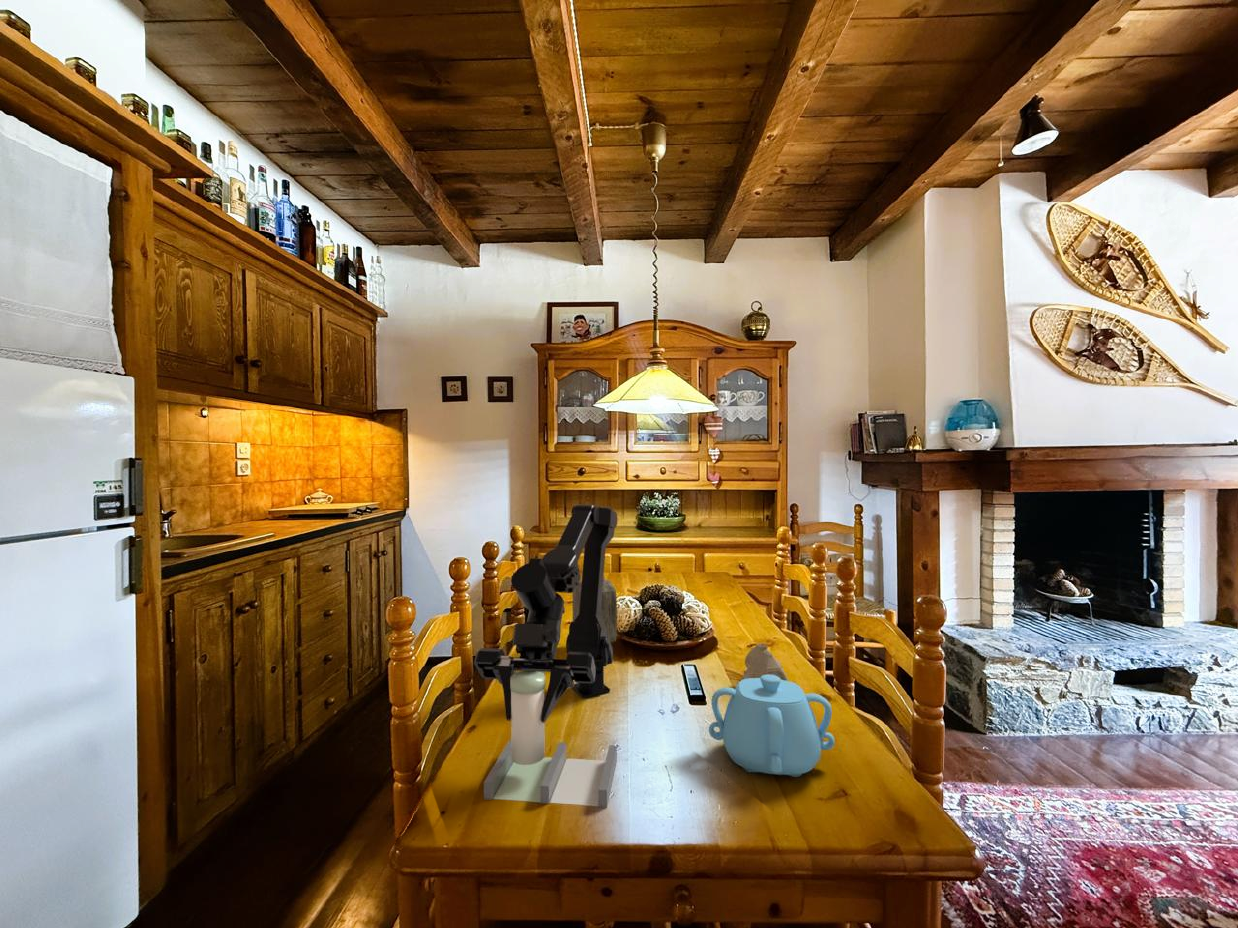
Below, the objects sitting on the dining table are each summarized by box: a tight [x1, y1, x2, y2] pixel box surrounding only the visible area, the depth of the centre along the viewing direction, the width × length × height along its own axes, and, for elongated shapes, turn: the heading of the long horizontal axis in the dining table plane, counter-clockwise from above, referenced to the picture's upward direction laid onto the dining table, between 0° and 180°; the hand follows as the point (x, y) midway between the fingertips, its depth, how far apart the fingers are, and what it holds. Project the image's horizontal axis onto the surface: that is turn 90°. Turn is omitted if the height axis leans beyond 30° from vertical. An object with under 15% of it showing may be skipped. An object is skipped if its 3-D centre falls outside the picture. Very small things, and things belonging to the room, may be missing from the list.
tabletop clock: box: [571, 576, 618, 643], centre depth 142 cm, size 14×9×25 cm, turn 13°
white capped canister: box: [510, 670, 546, 765], centre depth 84 cm, size 5×5×12 cm
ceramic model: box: [740, 643, 788, 681], centre depth 119 cm, size 14×11×10 cm
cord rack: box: [483, 739, 618, 809], centre depth 83 cm, size 12×18×4 cm
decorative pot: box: [708, 675, 836, 778], centre depth 91 cm, size 20×20×14 cm
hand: (525, 720), depth 82 cm, fingers closed on white capped canister, 5 cm apart
